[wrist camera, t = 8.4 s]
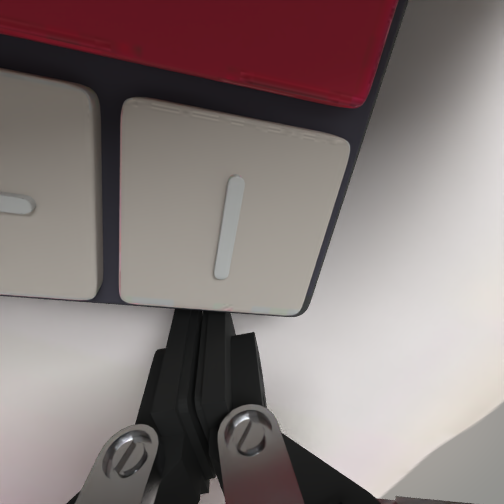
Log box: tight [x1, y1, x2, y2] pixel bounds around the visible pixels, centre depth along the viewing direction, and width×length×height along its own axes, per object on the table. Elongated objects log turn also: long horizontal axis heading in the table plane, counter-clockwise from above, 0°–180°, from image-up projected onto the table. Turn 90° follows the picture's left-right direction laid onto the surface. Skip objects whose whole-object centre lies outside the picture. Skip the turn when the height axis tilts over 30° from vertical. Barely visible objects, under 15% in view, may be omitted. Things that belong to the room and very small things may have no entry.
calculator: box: [0, 0, 408, 317], centre depth 7 cm, size 11×4×15 cm
